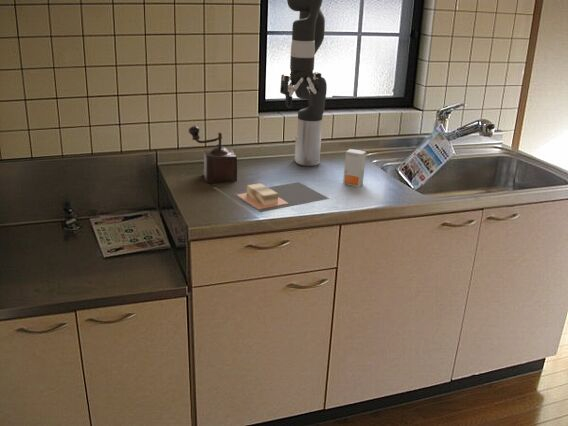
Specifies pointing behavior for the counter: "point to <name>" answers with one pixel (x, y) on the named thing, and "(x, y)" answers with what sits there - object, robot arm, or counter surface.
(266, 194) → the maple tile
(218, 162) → the manual coffee grinder
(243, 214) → the counter surface
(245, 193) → the rubber mat
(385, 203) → the counter surface
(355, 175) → the skincare box
